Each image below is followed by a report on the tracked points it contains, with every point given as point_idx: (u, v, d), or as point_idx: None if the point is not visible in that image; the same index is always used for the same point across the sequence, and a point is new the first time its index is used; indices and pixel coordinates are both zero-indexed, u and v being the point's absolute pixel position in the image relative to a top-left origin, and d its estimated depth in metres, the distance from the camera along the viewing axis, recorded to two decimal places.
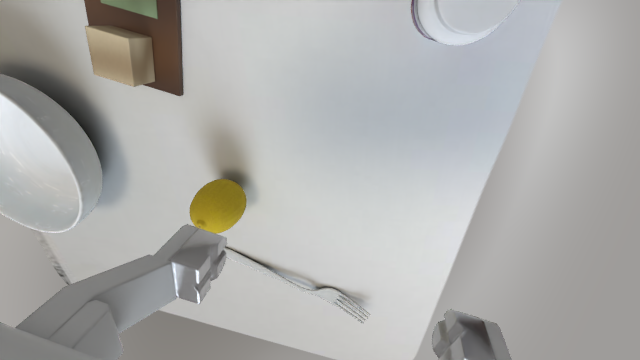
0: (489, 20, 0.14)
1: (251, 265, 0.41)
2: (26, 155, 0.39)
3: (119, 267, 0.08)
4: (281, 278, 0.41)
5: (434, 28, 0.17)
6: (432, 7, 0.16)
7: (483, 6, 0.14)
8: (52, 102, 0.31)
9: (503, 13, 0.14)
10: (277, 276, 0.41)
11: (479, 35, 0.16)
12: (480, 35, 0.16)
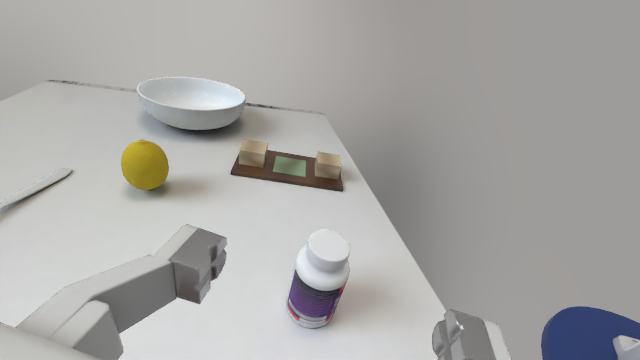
0: (317, 250, 0.24)
1: (31, 187, 0.36)
2: (188, 106, 0.65)
3: (119, 267, 0.08)
4: None
5: (303, 249, 0.27)
6: None
7: (323, 246, 0.25)
8: (226, 123, 0.57)
9: (322, 255, 0.24)
10: None
11: (306, 271, 0.25)
12: (306, 272, 0.25)
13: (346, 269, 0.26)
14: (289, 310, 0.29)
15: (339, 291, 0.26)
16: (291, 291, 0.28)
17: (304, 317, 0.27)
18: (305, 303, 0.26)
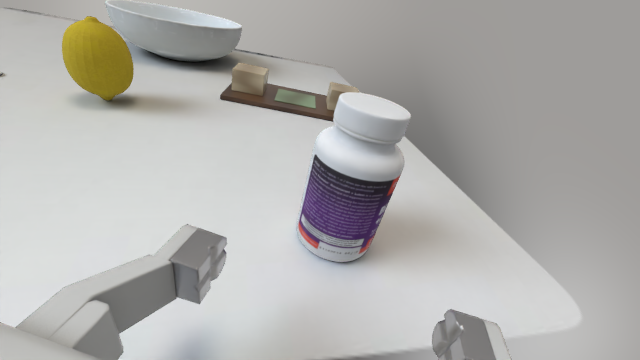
0: (357, 106, 0.14)
1: None
2: None
3: (119, 267, 0.08)
4: None
5: (327, 128, 0.17)
6: None
7: (365, 104, 0.14)
8: (218, 51, 0.47)
9: (367, 110, 0.13)
10: None
11: (334, 148, 0.15)
12: (335, 149, 0.14)
13: (401, 154, 0.16)
14: (302, 234, 0.18)
15: (389, 190, 0.15)
16: (306, 199, 0.17)
17: (328, 239, 0.17)
18: (331, 211, 0.16)
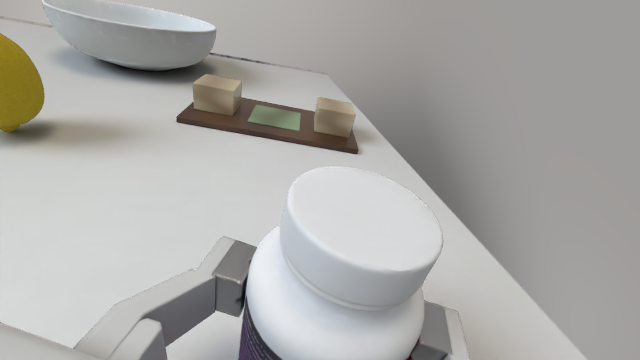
0: (323, 227, 0.06)
1: None
2: None
3: (165, 283, 0.08)
4: None
5: (277, 230, 0.09)
6: None
7: (343, 213, 0.06)
8: (184, 58, 0.39)
9: (344, 246, 0.06)
10: None
11: (277, 307, 0.07)
12: (277, 310, 0.07)
13: (418, 295, 0.08)
14: None
15: None
16: (240, 358, 0.09)
17: None
18: None
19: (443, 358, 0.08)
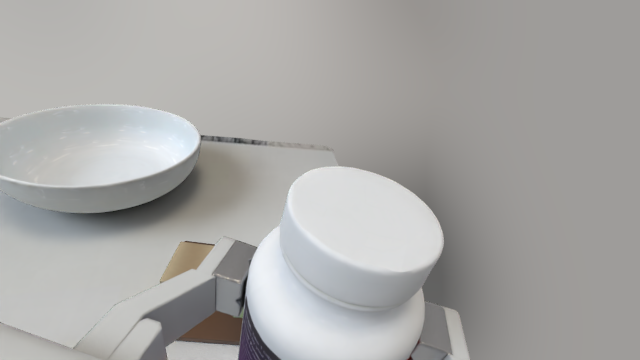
0: (323, 228, 0.06)
1: None
2: (110, 153, 0.39)
3: (165, 282, 0.08)
4: None
5: (277, 230, 0.09)
6: None
7: (343, 214, 0.06)
8: (158, 195, 0.31)
9: (344, 247, 0.06)
10: None
11: (277, 308, 0.07)
12: (277, 311, 0.07)
13: (418, 296, 0.08)
14: None
15: None
16: (240, 359, 0.09)
17: None
18: None
19: (443, 358, 0.08)
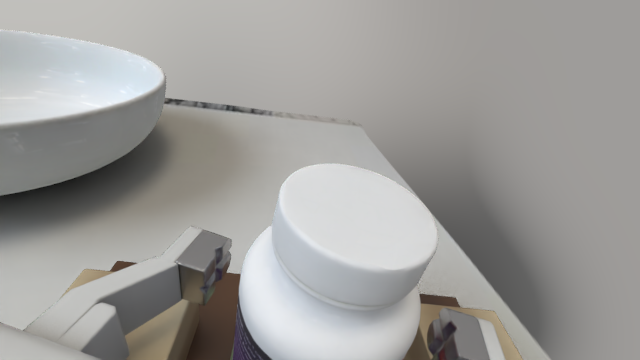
0: (314, 225, 0.06)
1: None
2: (18, 109, 0.24)
3: (125, 269, 0.08)
4: None
5: (271, 228, 0.09)
6: None
7: (335, 211, 0.06)
8: (71, 170, 0.16)
9: (335, 244, 0.05)
10: None
11: (268, 307, 0.07)
12: (268, 310, 0.06)
13: (414, 296, 0.08)
14: None
15: None
16: (234, 359, 0.09)
17: None
18: None
19: None
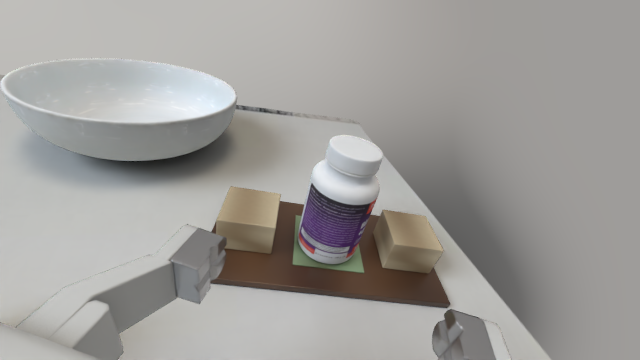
0: (342, 150, 0.19)
1: None
2: (136, 111, 0.37)
3: (119, 267, 0.08)
4: None
5: (321, 161, 0.22)
6: None
7: (348, 147, 0.19)
8: (197, 146, 0.29)
9: (349, 154, 0.18)
10: None
11: (326, 180, 0.20)
12: (326, 181, 0.20)
13: (376, 183, 0.21)
14: (302, 242, 0.23)
15: (367, 210, 0.21)
16: (305, 216, 0.22)
17: (321, 247, 0.22)
18: (324, 226, 0.21)
19: None
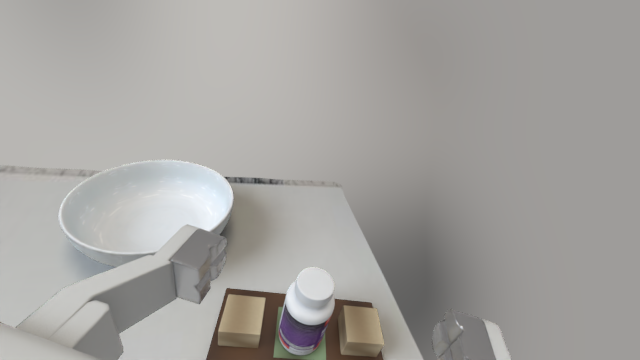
0: (304, 290, 0.27)
1: None
2: (153, 203, 0.45)
3: (119, 267, 0.08)
4: None
5: (293, 284, 0.30)
6: None
7: (309, 285, 0.28)
8: None
9: (309, 294, 0.27)
10: None
11: (294, 307, 0.28)
12: (294, 307, 0.28)
13: (331, 304, 0.29)
14: (280, 338, 0.32)
15: (324, 324, 0.29)
16: (282, 322, 0.31)
17: (293, 346, 0.30)
18: (294, 335, 0.29)
19: None
